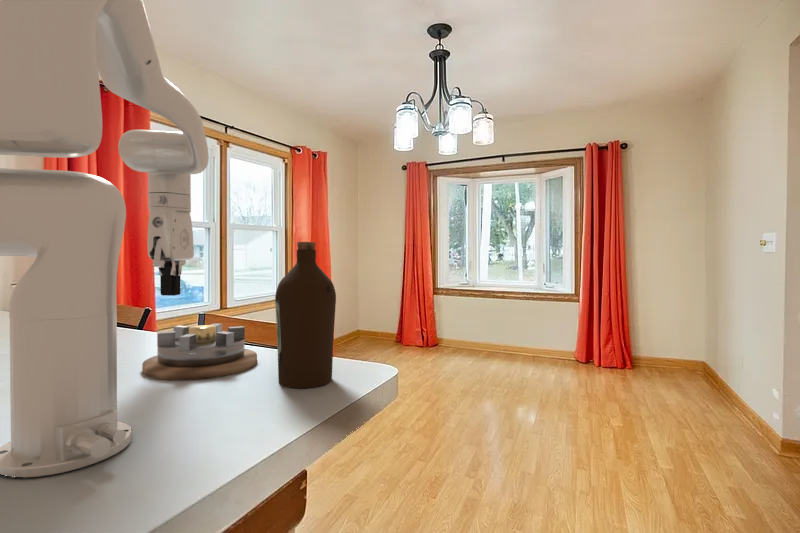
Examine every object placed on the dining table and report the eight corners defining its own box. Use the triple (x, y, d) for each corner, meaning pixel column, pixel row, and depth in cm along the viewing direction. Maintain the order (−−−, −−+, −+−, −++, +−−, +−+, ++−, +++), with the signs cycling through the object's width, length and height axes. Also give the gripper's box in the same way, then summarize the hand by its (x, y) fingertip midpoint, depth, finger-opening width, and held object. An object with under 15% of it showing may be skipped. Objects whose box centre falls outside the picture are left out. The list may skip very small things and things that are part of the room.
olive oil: (338, 373, 83) (339, 243, 82) (331, 390, 72) (332, 241, 72) (282, 372, 83) (283, 242, 82) (267, 390, 72) (268, 240, 71)
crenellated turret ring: (261, 353, 91) (261, 325, 91) (193, 370, 77) (193, 337, 76) (209, 345, 98) (209, 319, 98) (139, 359, 84) (139, 329, 84)
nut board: (278, 360, 92) (278, 353, 92) (190, 386, 73) (190, 377, 73) (211, 349, 102) (211, 343, 102) (118, 370, 83) (118, 362, 83)
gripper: (170, 200, 79) (171, 299, 80) (204, 208, 94) (204, 291, 95) (129, 199, 79) (130, 299, 80) (169, 207, 94) (170, 291, 95)
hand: (170, 294), depth 87 cm, fingers closed
